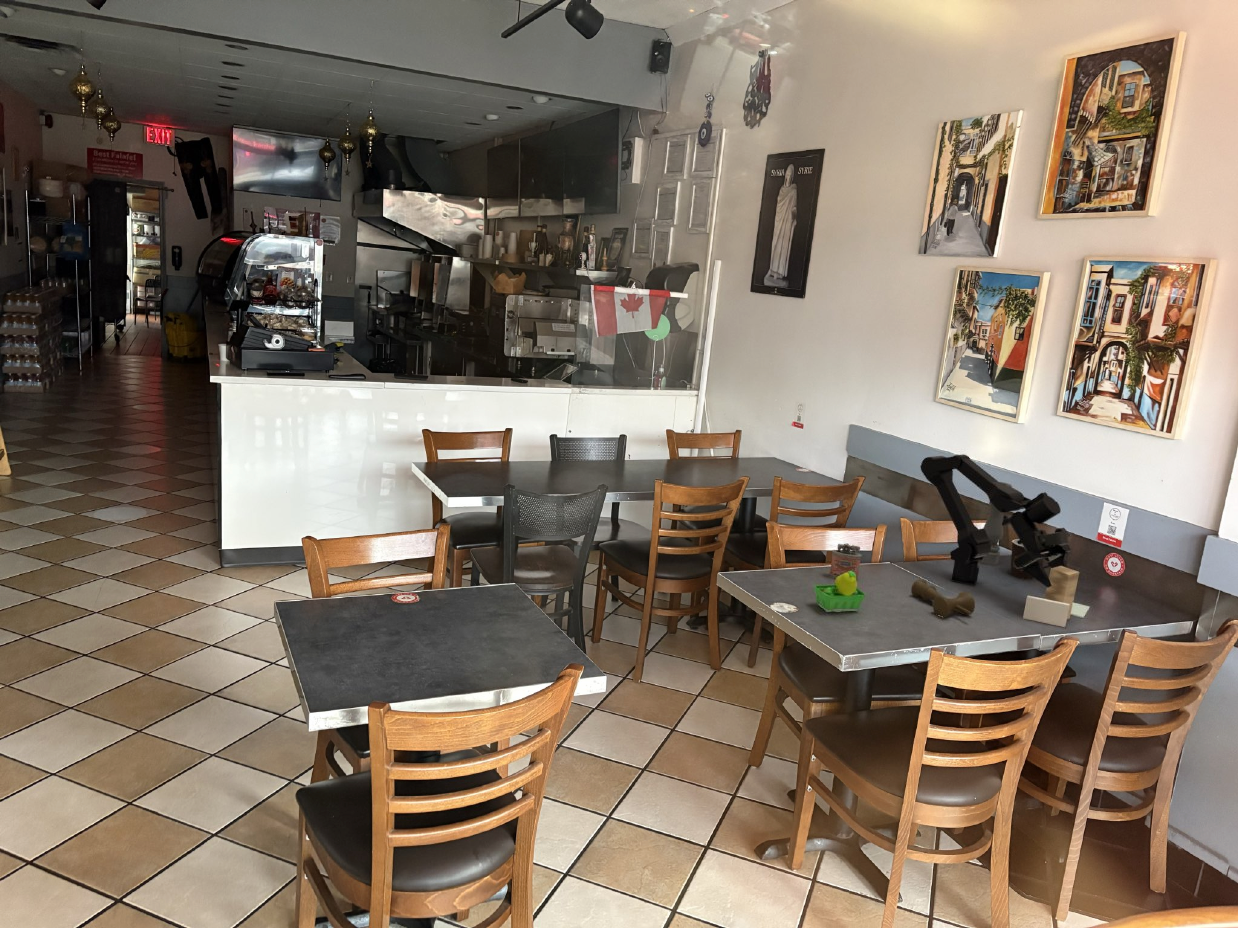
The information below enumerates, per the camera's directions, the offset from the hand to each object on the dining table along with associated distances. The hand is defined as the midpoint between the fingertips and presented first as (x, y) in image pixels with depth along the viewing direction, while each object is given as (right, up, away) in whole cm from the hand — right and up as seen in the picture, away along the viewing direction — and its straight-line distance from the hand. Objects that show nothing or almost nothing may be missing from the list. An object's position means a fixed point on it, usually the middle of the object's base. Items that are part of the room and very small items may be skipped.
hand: (1059, 584), depth 236 cm
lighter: (-53, -1, +18) cm, 55 cm away
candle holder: (-1, +1, +43) cm, 43 cm away
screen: (-6, -9, -3) cm, 11 cm away
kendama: (-31, -7, 0) cm, 32 cm away
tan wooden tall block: (0, -9, +2) cm, 9 cm away
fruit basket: (-60, -6, -6) cm, 60 cm away
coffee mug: (+5, -2, +31) cm, 32 cm away
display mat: (+6, -8, +8) cm, 13 cm away
